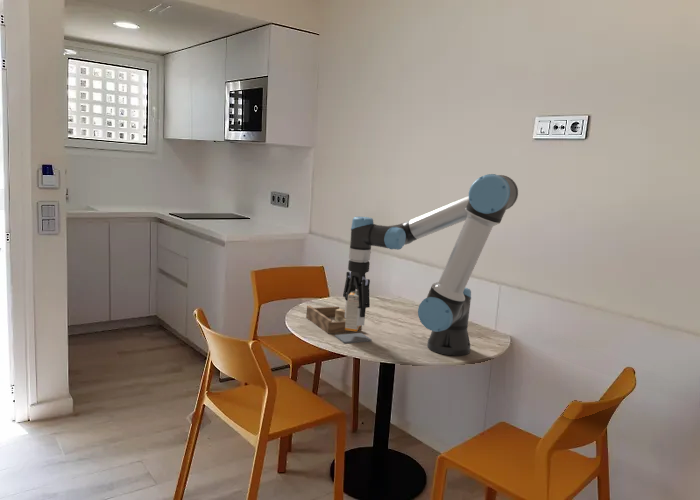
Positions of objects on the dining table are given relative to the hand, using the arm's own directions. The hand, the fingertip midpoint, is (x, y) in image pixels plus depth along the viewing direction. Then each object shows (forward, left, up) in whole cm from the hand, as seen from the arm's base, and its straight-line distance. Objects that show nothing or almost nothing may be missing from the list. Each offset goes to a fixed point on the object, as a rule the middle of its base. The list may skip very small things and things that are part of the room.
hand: (354, 321), depth 205 cm
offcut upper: (+18, -5, -4) cm, 19 cm away
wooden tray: (+18, -1, -6) cm, 20 cm away
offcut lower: (+18, -5, -7) cm, 20 cm away
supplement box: (0, 0, -3) cm, 3 cm away
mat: (0, 0, -6) cm, 6 cm away
